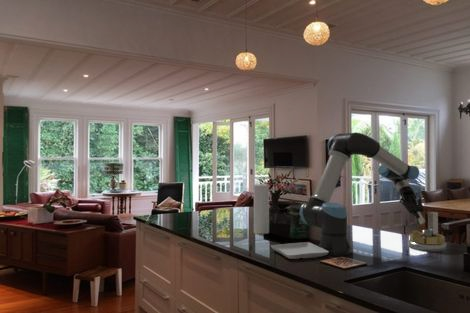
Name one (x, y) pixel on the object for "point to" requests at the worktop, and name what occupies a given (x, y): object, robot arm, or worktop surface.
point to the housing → (426, 246)
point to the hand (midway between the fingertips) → (422, 222)
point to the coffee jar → (297, 224)
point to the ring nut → (432, 225)
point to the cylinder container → (261, 209)
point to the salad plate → (300, 250)
